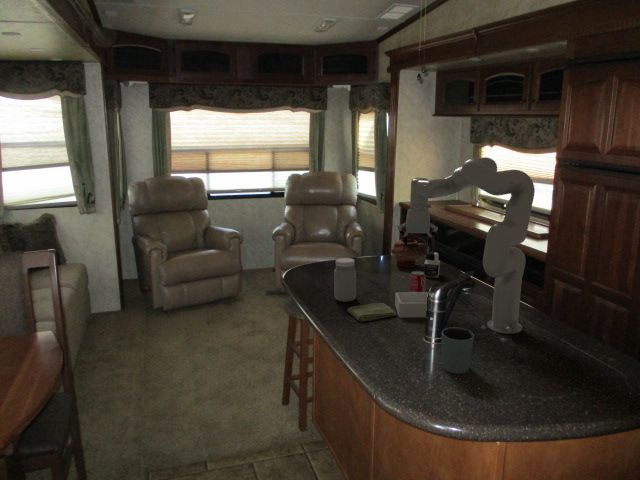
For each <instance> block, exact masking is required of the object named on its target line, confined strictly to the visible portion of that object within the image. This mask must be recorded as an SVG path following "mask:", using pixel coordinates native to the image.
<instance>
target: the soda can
mask: <svg viewBox="0 0 640 480" xmlns="http://www.w3.org/2000/svg"><path fill="white" fill-rule="evenodd" d="M408 282H409V283H408V284H409V286H408V287H409V288H408V289H409V290H408V292H426V286H427V285H426V283H427V281H426V277H425V275H424V271H421V270H414V271H413V270H412V271H411V272H410V275H409V281H408Z"/></svg>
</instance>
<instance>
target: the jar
mask: <svg viewBox="0 0 640 480" xmlns="http://www.w3.org/2000/svg"><path fill="white" fill-rule="evenodd" d="M355 261H356V260H355V259H354V258H351V257H339V258H337V259H335V268H334V270H333V284H334V286H333V287H334V288H333V289H334V290H333V291H334V293H333V297H334V298H335V300H336V301H338V302H341V301H342V302H343V303H347V302H348V303H349V301H350V302H353V301H354V300H355V299H356V297H357V270H356V267H355V263H356V262H355ZM342 302H341V303H342Z"/></svg>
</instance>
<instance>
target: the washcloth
mask: <svg viewBox="0 0 640 480" xmlns="http://www.w3.org/2000/svg"><path fill="white" fill-rule="evenodd" d="M346 311H347V313H348V314H351V316H352V317H354V318H355V319H356V320H357V321H358V322H368V321H369V322H370V321H375V320H379V319H380V320H381V319H384V318H385V319H386V318H392V317H396V316H397V315H398V313H397V312H395V311H394V310H393V309H392V308H391V306H389V305H387V304H386V303H385V302H373V303H367V304H361V305H359V304H358V305H354V306H351V307H348V308H347V310H346Z"/></svg>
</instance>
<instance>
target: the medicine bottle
mask: <svg viewBox="0 0 640 480" xmlns="http://www.w3.org/2000/svg"><path fill="white" fill-rule="evenodd" d="M439 256H440V255H439V253H438V252H436V251H428V252H426V255H425V259H426V260H425V261H424V264H423V265H424V266H423V272H424V275H425V277H427V278H435V279H437V278H439V276H440V265H441V261H440V260H439Z"/></svg>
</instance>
